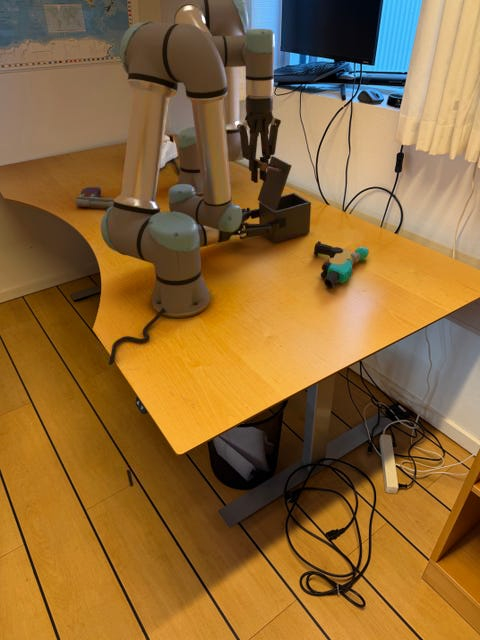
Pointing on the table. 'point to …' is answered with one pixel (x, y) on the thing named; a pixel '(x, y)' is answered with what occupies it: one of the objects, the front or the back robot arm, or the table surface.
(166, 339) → the table surface
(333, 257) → the toy gun
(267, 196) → the lid
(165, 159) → the sneaker
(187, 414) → the table surface
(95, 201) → the toy gun
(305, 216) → the chest
